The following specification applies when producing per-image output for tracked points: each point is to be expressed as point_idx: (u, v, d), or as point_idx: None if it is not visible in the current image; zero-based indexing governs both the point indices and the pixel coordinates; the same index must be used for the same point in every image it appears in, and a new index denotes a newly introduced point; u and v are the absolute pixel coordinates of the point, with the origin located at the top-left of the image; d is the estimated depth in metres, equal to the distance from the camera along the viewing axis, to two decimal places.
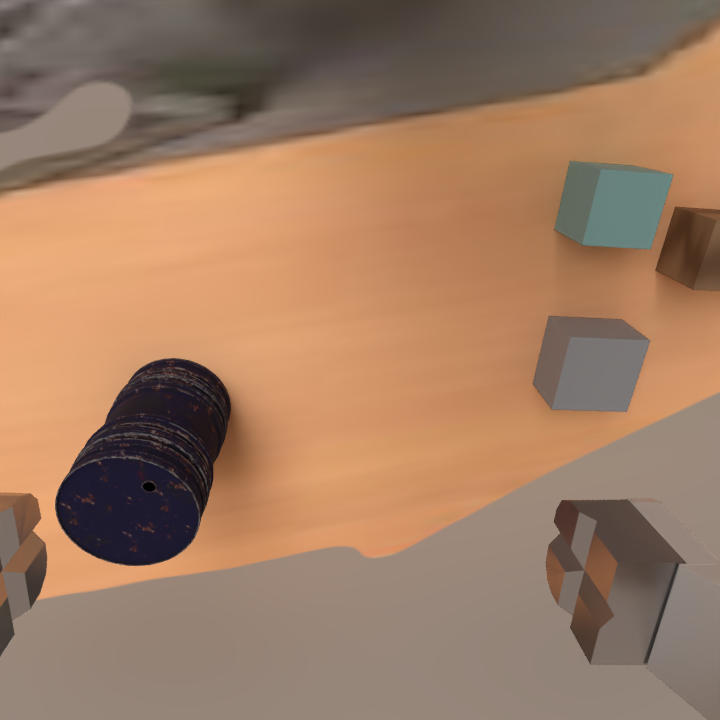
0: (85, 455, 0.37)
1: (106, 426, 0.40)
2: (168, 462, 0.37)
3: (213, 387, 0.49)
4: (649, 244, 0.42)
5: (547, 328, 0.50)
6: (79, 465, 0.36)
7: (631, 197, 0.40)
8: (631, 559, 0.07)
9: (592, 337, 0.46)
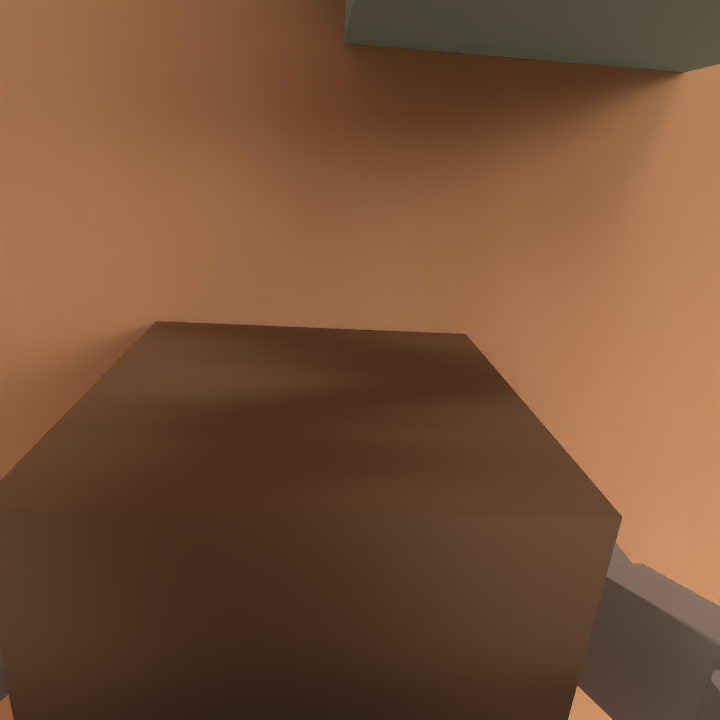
0: None
1: None
2: None
3: None
4: None
5: None
6: None
7: None
8: None
9: None
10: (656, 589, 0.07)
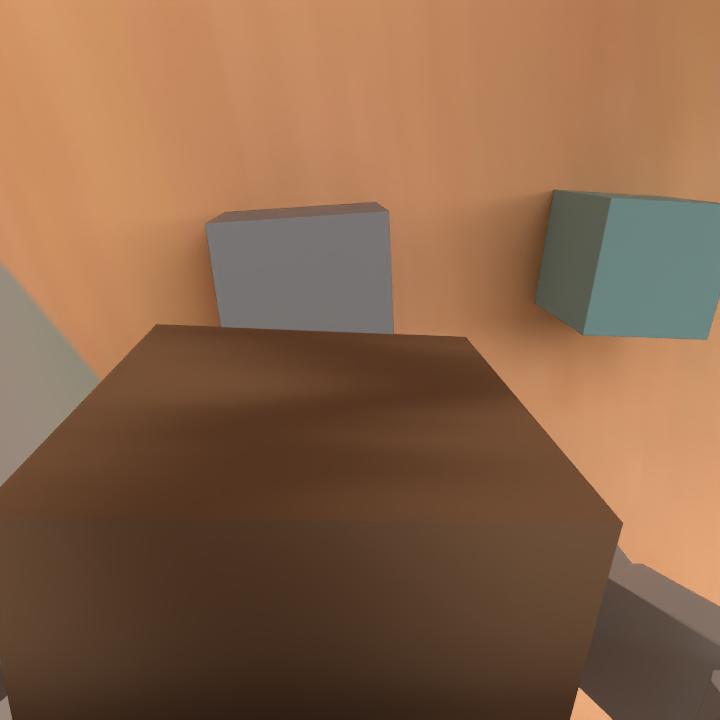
0: None
1: None
2: None
3: None
4: (592, 330, 0.23)
5: (353, 204, 0.25)
6: None
7: (683, 276, 0.22)
8: None
9: (390, 259, 0.22)
10: (657, 590, 0.07)
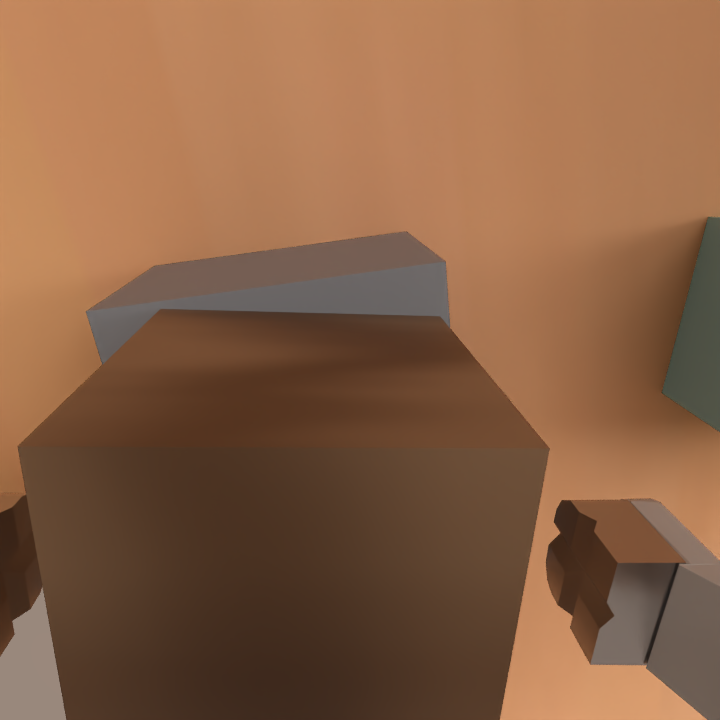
0: None
1: None
2: None
3: None
4: None
5: (370, 239, 0.15)
6: None
7: None
8: (631, 559, 0.07)
9: None
10: None
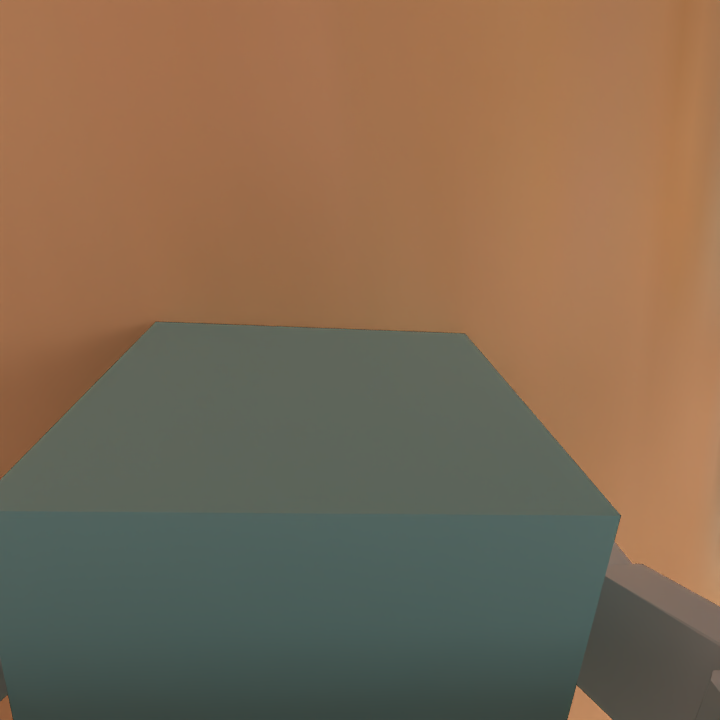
0: None
1: None
2: None
3: None
4: None
5: None
6: None
7: None
8: None
9: None
10: (656, 589, 0.07)
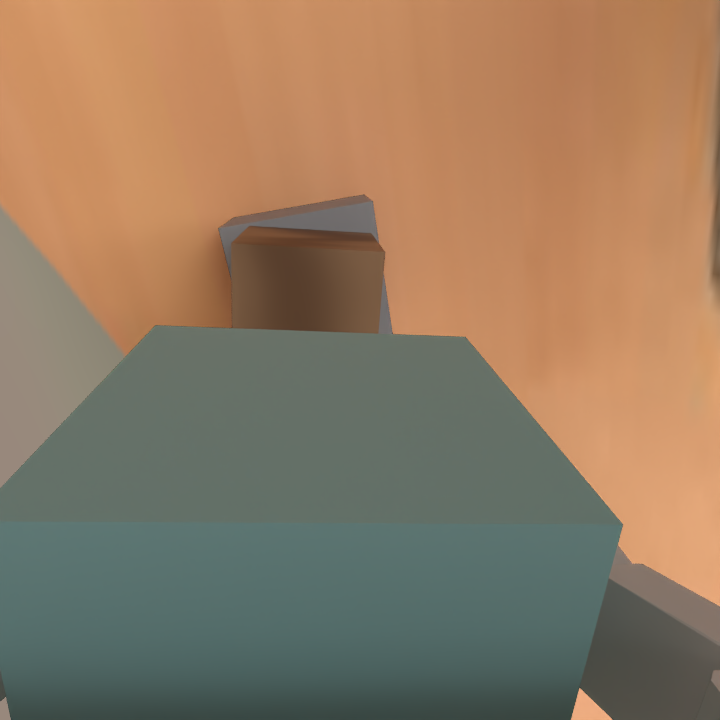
0: None
1: None
2: None
3: None
4: None
5: (344, 198, 0.29)
6: None
7: None
8: None
9: (378, 242, 0.25)
10: (656, 589, 0.07)
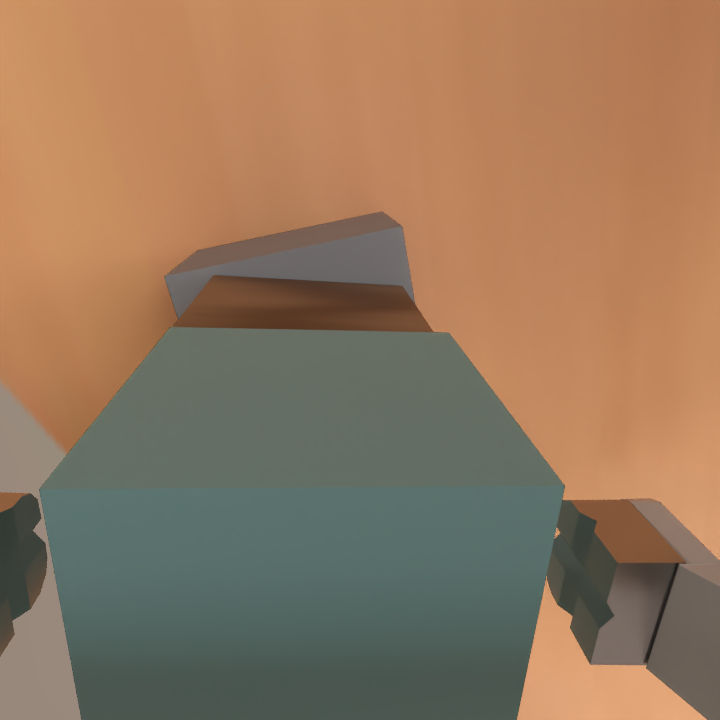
0: None
1: None
2: None
3: None
4: None
5: (355, 218, 0.20)
6: None
7: (387, 683, 0.07)
8: (631, 559, 0.07)
9: (412, 288, 0.17)
10: None
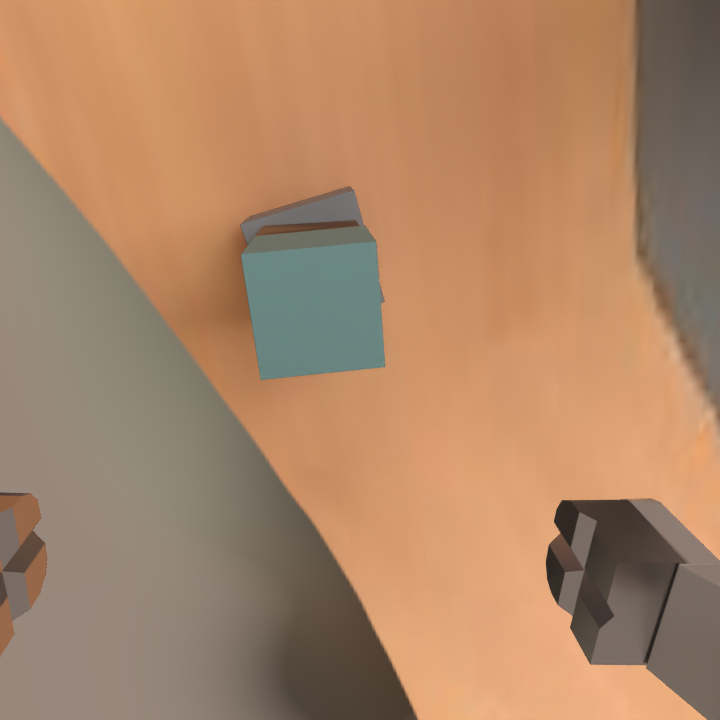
0: None
1: None
2: None
3: None
4: (268, 374, 0.24)
5: (334, 191, 0.36)
6: None
7: (339, 313, 0.23)
8: (631, 559, 0.07)
9: (362, 221, 0.33)
10: None
